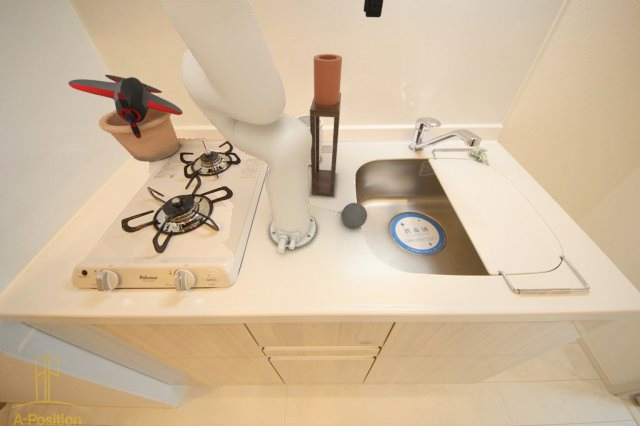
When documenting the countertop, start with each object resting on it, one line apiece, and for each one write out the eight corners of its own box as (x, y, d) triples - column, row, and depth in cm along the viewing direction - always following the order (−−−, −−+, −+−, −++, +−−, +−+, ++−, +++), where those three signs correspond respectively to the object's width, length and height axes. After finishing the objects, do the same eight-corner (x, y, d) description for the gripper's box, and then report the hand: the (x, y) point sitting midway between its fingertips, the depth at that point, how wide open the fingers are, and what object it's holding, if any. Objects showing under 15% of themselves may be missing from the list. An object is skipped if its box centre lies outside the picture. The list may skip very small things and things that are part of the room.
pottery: (129, 173, 77) (98, 135, 66) (123, 147, 89) (97, 111, 79) (192, 153, 86) (174, 117, 75) (179, 132, 98) (162, 98, 87)
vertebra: (484, 157, 79) (494, 149, 78) (468, 147, 83) (477, 140, 83) (483, 166, 84) (492, 159, 83) (468, 156, 88) (476, 150, 88)
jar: (292, 155, 86) (288, 117, 75) (315, 149, 89) (315, 112, 78) (302, 169, 79) (299, 130, 68) (327, 163, 82) (328, 124, 71)
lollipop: (292, 226, 59) (301, 236, 65) (367, 220, 54) (368, 231, 60) (295, 197, 63) (303, 208, 69) (364, 188, 58) (366, 201, 64)
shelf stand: (333, 196, 70) (339, 111, 50) (312, 195, 70) (309, 109, 50) (335, 174, 78) (341, 92, 58) (316, 172, 78) (315, 91, 58)
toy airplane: (72, 35, 63) (82, 84, 72) (52, 78, 52) (67, 129, 62) (183, 74, 79) (179, 110, 89) (185, 113, 68) (181, 149, 78)
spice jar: (338, 106, 52) (341, 61, 45) (312, 104, 52) (312, 60, 46) (339, 96, 56) (342, 54, 49) (315, 95, 56) (315, 53, 50)
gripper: (365, -110, 42) (354, 10, 55) (370, -144, 30) (355, 19, 43) (404, -111, 42) (384, 10, 54) (425, -145, 30) (393, 19, 43)
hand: (371, 14), depth 49 cm, fingers open, 9 cm apart
